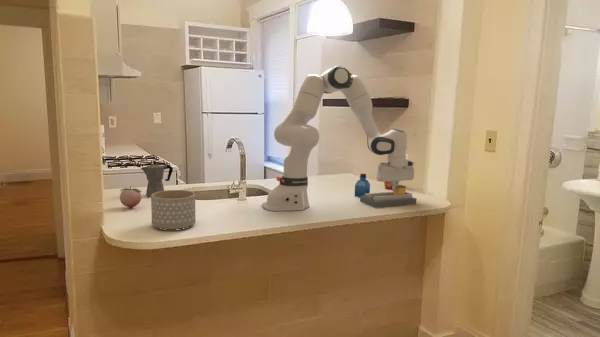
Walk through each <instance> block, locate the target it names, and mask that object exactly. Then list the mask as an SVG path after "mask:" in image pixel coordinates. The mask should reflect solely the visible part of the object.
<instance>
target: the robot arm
mask: <svg viewBox="0 0 600 337" xmlns="http://www.w3.org/2000/svg"><path fill="white" fill-rule="evenodd" d="M339 91H340V92H341V93H342V94H343V95H344V97H345V99H346V102H347V103H348V106H349V108H350V109H351V111H352V112H353V113H354V115H355V116H356V117H357V118H358V120H359V121H360V123H361V126H362V128H363V130H364V132H365V135H366V144H367V147H368V150H369V151H370V152H371V153H373V154H375V155H377V156H383V155H387V160H386V161H387V162H386V161H384V162H380V163H379V164H378V166H377V174H376V179H377V182H384V181H391V184H392V189H393V190H396V189H397V185H400V182H402V181H412V180H413V179H414V177H415V168H414V166H415V162H414V161H412V160H409V159H407V153H406V151H407V148H408V135H407V132H405V131H404V130H400V129H397V128H392V129H390V130H389V131H387V132H385V133H381V132H380V131H379V129H378V126H377V125H376V122H375V120H374V117H373V101H372V98H371V95H370V92H369V90H368V88H367V86H366V85H365V84H364V81H363V80H362V78H361V77H360V76H359V75H358V74H352V73H351V72H350V71H349V70H348V69H347V68H346V67H344V66H341V65H336V66H333V67H331V68H328V69H326V70H325V71H324V72H323V73H321V74H315V73H312V74H311V73H310V74H308V75H307V76H306V77H305V79H304V80H303V82H302V84H301V87H300V88H299V91H298V93H297V97H296V99H295V102H294V105H293V107H292V109H291V111H290V113H289V114H288V115H287V116H286V118H285V119H284V120H283V121H282V122H281V123H280V124H278V125H276V127H275V129H274V132H273V136H274V140H275V141H276V142H277V143H278V144H280V145H283V146H285V147H290V151H289V153H288V156H286V157H285V158H284V160H283V175H282V176H276V181H277V182H279V184H278V185H277V186H276V187H274V188H273V189H272V190H270V191H269V192H268V194H267V197H266V201H265V202H262V204H261V207H262V208H263V209H265V210H268V211H271V212H281V211H282V212H283V211H285V212H286V211H288V212H289V211H304V210H305V209H307V208H309V207H310V202H309V198H308V196H309V195H308V186H309V183H308V182H309V181H308V180H309V178H308V161H309V158H310V155H311V152H312V150H313V149H314V148H315V147H316V146H317V145H318V143H319V140H320V132H319V131H318V129H317V128H316V127H314V126H312V125H310V124H308V123H309V122H310V121H311V120H312V119H314V118H315V117H316V115H317V112H318V110H319V106H320V104H321V101H322V98H323V96H324V94H333V93H335V92H339ZM393 190H392V191H393Z"/></svg>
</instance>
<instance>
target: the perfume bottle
mask: <svg viewBox="0 0 600 337" xmlns="http://www.w3.org/2000/svg"><path fill="white" fill-rule="evenodd" d="M359 175H360V176H359V179H358V180H357V181H356V183H355V185H354V197H356V198H360V196H365V194H366V193H371V184H370V182H369V180H368V179H367V174H366V173H359Z"/></svg>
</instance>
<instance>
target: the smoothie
mask: <svg viewBox="0 0 600 337" xmlns="http://www.w3.org/2000/svg"><path fill="white" fill-rule="evenodd" d="M387 161H388V160H386V161H385V162H387ZM383 182H384V183H383V184H384V186H383V187H384V189H385V190H392V191H393V189H392V184H391V181H383Z"/></svg>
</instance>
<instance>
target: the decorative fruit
mask: <svg viewBox="0 0 600 337" xmlns="http://www.w3.org/2000/svg"><path fill="white" fill-rule="evenodd" d="M119 192H120V195H119V201H120V203H121V204H122V205H123V206H124V207H127V208H129V209H132V208H134V207H137V206H138V205H139V204H140V202H141V201H142V191H141V190H140V189H138V188H131V186H130V185H129V188H128V187H126V188H122V189H119Z"/></svg>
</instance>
